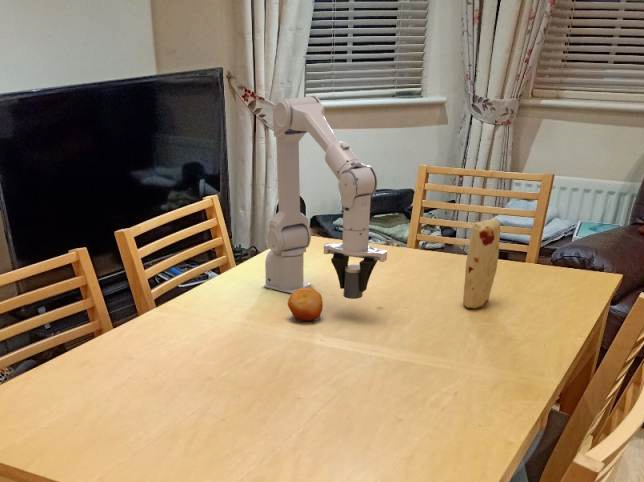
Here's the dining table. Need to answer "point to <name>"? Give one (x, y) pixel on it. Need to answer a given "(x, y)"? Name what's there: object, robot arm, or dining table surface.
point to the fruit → (305, 304)
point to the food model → (481, 262)
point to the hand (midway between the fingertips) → (353, 289)
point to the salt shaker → (352, 282)
